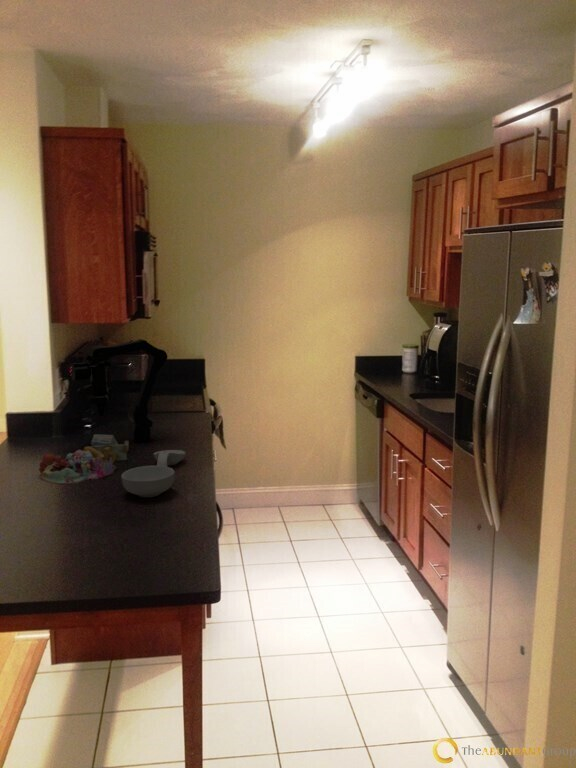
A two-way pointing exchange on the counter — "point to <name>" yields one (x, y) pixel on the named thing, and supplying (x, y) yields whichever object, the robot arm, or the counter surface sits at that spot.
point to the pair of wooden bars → (115, 450)
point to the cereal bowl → (148, 480)
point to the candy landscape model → (78, 466)
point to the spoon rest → (169, 457)
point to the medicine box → (103, 440)
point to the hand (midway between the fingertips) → (101, 416)
